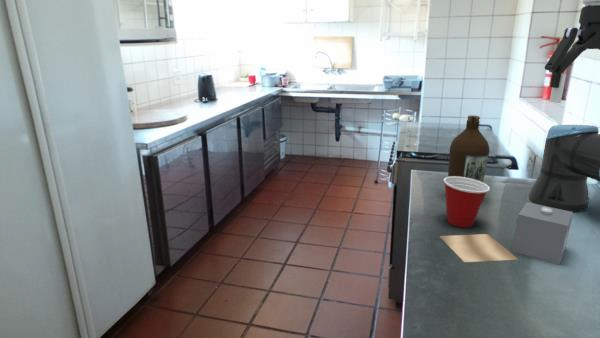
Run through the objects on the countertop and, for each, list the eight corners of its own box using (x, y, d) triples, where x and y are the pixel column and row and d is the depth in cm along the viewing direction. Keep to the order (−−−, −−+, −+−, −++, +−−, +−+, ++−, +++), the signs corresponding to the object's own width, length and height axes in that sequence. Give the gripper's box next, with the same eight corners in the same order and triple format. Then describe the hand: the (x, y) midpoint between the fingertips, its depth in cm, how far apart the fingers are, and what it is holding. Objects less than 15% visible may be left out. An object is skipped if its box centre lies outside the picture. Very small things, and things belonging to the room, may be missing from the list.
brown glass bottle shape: (437, 193, 127) (446, 113, 120) (467, 191, 130) (478, 112, 122) (457, 206, 117) (468, 120, 110) (489, 203, 120) (503, 118, 112)
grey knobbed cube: (519, 241, 97) (527, 198, 94) (564, 253, 92) (574, 207, 89) (510, 256, 90) (519, 209, 87) (558, 269, 85) (568, 221, 82)
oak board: (486, 238, 98) (487, 234, 98) (517, 264, 87) (518, 259, 87) (438, 240, 97) (439, 236, 97) (463, 267, 86) (464, 262, 85)
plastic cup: (487, 238, 99) (495, 191, 95) (440, 233, 101) (446, 187, 97) (478, 219, 109) (485, 176, 105) (436, 216, 111) (441, 173, 107)
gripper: (562, 2, 85) (543, 104, 92) (669, 4, 88) (644, 103, 94) (538, 5, 93) (522, 100, 99) (638, 7, 95) (616, 99, 102)
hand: (581, 102), depth 97 cm, fingers open, 13 cm apart
